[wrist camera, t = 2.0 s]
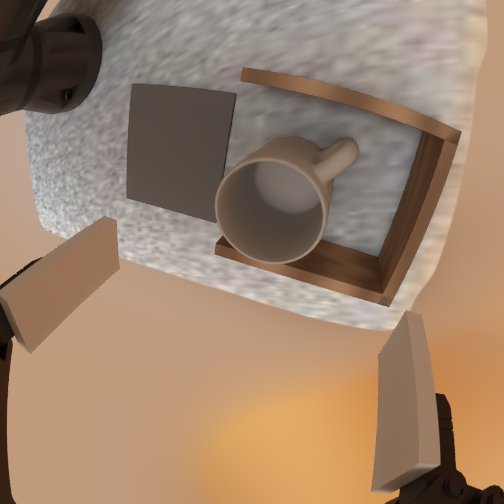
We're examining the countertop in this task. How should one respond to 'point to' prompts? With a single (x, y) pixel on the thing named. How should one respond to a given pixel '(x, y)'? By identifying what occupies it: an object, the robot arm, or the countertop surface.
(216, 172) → the mat
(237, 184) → the mug
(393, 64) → the countertop surface
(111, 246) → the robot arm
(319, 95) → the open-sided wooden frame
